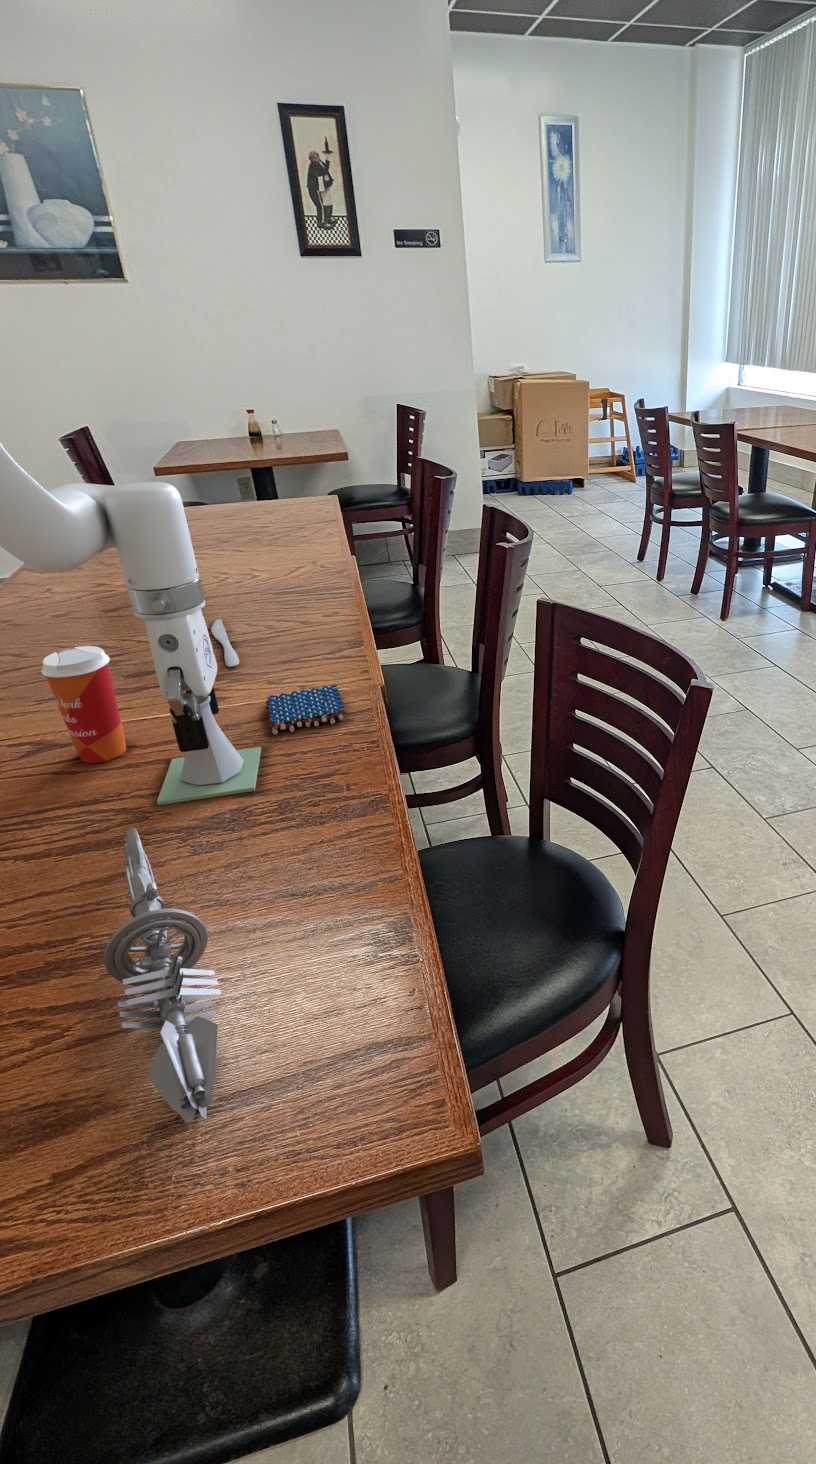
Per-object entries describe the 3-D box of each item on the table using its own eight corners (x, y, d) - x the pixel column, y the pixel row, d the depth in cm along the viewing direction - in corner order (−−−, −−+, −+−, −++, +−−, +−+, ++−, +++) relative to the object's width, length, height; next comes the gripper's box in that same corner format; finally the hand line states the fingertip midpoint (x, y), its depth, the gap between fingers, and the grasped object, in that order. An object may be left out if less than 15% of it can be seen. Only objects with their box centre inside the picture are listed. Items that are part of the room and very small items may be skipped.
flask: (254, 759, 105) (238, 688, 101) (226, 788, 99) (208, 714, 94) (201, 757, 106) (183, 686, 102) (170, 785, 100) (150, 712, 95)
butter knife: (221, 666, 134) (240, 662, 135) (208, 621, 156) (224, 617, 157) (222, 670, 134) (241, 665, 135) (209, 624, 156) (225, 620, 157)
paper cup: (63, 754, 109) (30, 656, 103) (123, 734, 114) (95, 640, 108) (82, 773, 104) (49, 672, 98) (144, 752, 109) (116, 654, 103)
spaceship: (178, 797, 83) (89, 795, 78) (270, 1059, 57) (147, 1080, 53) (163, 863, 85) (75, 865, 80) (245, 1141, 60) (124, 1169, 55)
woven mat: (265, 706, 121) (263, 694, 120) (338, 693, 124) (336, 681, 123) (269, 736, 112) (266, 723, 111) (348, 721, 115) (346, 708, 115)
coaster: (157, 805, 97) (156, 801, 97) (173, 761, 106) (172, 758, 106) (254, 791, 99) (254, 787, 99) (261, 749, 109) (260, 746, 108)
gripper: (191, 617, 86) (225, 759, 93) (212, 573, 101) (239, 698, 108) (113, 624, 84) (154, 769, 92) (146, 579, 99) (179, 706, 107)
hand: (200, 731), depth 100 cm, fingers open, 9 cm apart
